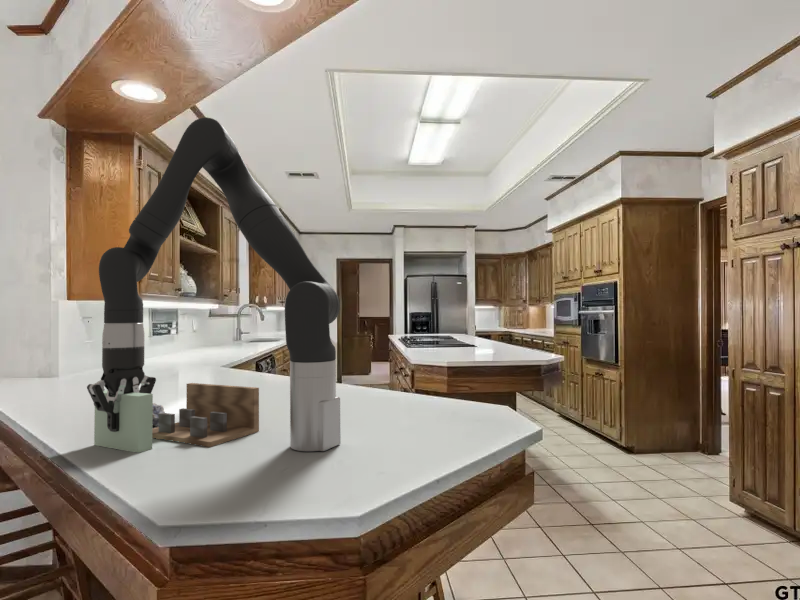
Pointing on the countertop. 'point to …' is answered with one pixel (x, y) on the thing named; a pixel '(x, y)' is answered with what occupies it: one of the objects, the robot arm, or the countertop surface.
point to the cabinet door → (127, 424)
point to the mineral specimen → (157, 413)
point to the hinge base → (212, 415)
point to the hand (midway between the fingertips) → (123, 428)
